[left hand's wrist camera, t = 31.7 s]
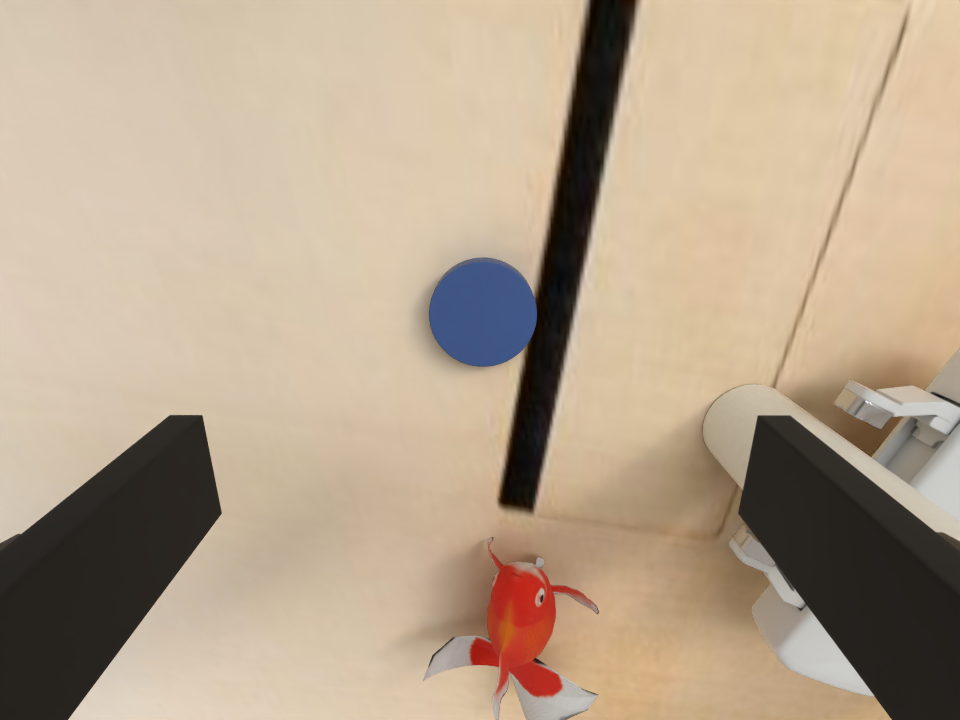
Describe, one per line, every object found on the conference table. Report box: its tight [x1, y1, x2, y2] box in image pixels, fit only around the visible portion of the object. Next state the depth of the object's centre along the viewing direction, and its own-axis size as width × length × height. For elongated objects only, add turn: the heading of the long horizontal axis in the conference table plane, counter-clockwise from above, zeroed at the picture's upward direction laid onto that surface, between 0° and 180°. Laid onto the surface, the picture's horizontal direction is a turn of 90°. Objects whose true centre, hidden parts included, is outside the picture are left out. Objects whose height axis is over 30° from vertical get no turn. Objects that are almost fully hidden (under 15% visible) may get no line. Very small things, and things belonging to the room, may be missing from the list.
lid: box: [429, 258, 537, 366], centre depth 30 cm, size 6×6×2 cm
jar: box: [703, 384, 960, 541], centre depth 25 cm, size 6×6×18 cm
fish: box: [423, 537, 599, 720], centre depth 34 cm, size 11×16×10 cm
